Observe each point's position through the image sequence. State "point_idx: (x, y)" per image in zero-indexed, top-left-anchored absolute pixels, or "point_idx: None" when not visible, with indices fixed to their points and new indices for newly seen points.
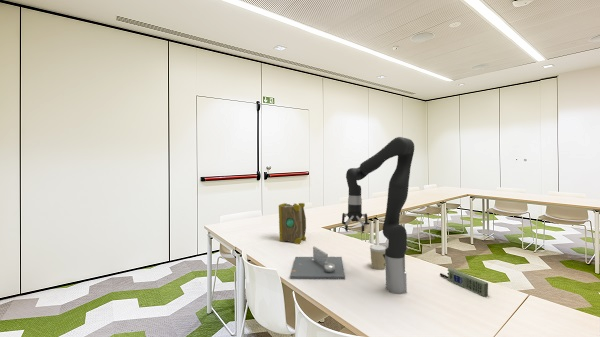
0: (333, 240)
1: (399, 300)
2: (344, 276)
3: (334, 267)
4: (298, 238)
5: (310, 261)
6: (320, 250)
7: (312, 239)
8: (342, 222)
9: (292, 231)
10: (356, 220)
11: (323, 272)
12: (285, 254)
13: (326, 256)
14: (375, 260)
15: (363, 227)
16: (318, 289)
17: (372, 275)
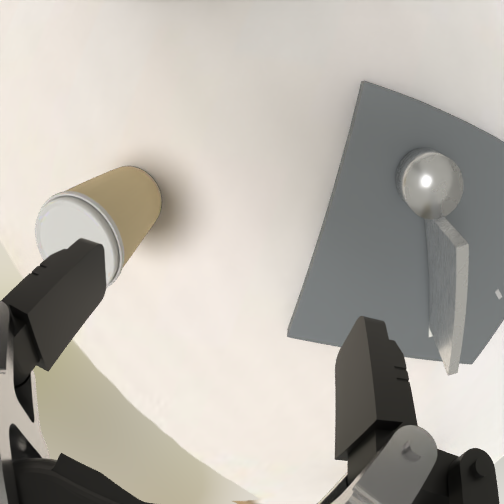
0: (255, 457)
1: None
2: (367, 83)
3: (412, 161)
4: None
5: None
6: (459, 317)
7: (323, 470)
8: (490, 480)
9: None
10: (78, 496)
11: None
12: (472, 392)
13: (458, 237)
14: (128, 187)
15: (28, 291)
16: (500, 36)
17: (189, 99)
